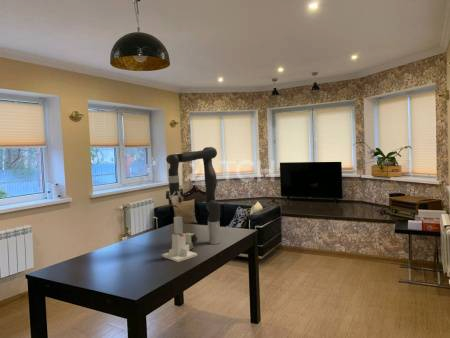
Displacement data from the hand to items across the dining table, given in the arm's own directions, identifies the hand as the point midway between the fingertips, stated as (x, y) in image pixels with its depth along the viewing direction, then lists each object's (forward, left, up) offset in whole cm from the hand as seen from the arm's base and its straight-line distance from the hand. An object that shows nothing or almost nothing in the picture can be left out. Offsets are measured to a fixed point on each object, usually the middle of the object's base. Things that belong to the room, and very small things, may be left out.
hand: (175, 203), depth 245 cm
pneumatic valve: (-9, +4, -35) cm, 36 cm away
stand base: (+8, +13, -35) cm, 38 cm away
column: (+8, +13, -27) cm, 30 cm away
